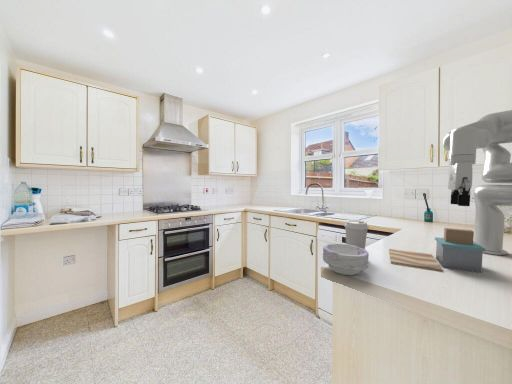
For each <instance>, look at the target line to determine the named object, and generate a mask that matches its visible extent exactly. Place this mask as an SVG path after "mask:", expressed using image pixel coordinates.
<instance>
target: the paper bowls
mask: <svg viewBox="0 0 512 384" xmlns="http://www.w3.org/2000/svg"><path fill="white" fill-rule="evenodd" d="M322 260H323V262H324V263H326V264H327V266H328V268H329V269H330V270H331V271H332V272H334V273H337V274H340V275H344V276H354V275H355V276H356V275H358V274H360V273H361V271H363V270H365V269H367V268H368V265H369V251H368V250H366V248H365V249H363V248H360V247H357V246H353V245H348V244H346V243H335V242H334V243H328V244H324V245H323V248H322Z"/></svg>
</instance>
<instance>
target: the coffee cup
mask: <svg viewBox="0 0 512 384" xmlns="http://www.w3.org/2000/svg"><path fill="white" fill-rule="evenodd" d="M343 227H345V242H346V243H345V244H348V245H353V246H357V247H360V248H363V249H365V250H366V243H367V236H368V235H367V234H368V230H369V228H370V227H369V225H368V222H366V221H361V220H346V221H345V223H344V225H343Z"/></svg>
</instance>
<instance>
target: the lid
mask: <svg viewBox="0 0 512 384" xmlns="http://www.w3.org/2000/svg"><path fill="white" fill-rule="evenodd" d="M443 231H444V232H443V237H437V236H435V237H434V240H435V241H436V243H437V242H438V243H439V244H440V245H441V246H443V247H452V248H460V249H469V250H478V251H485V248H484V247H482V246H480V245H479V244H477V243H475V242H474V233H475V230H472V229H464V228H463V229H461V228H452V227H451V228H449V227H444V228H443Z"/></svg>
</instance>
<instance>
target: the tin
mask: <svg viewBox="0 0 512 384" xmlns="http://www.w3.org/2000/svg"><path fill="white" fill-rule="evenodd" d="M483 254H484V253H483V251H478V250H469V249H460V248H452V247H443V246H441V245H440V244H439V243H438V242H437V241H436V249H435V260H436V261H437V262H438V264H439V265H440V267H441V268H447V269H453V270H458V271H459V270H460V271H467V272H473V273H478V274H479V273H480V274H482V269H483Z"/></svg>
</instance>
